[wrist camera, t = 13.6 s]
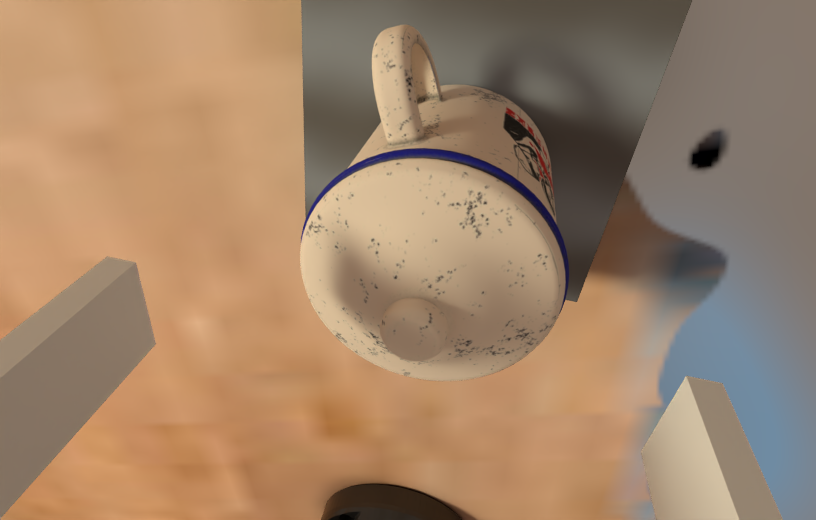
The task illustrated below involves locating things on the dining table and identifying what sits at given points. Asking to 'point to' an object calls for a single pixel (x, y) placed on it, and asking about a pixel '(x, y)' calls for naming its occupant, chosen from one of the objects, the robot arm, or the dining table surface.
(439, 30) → the grey stand
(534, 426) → the dining table surface
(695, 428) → the robot arm
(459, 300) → the teacup with lid
